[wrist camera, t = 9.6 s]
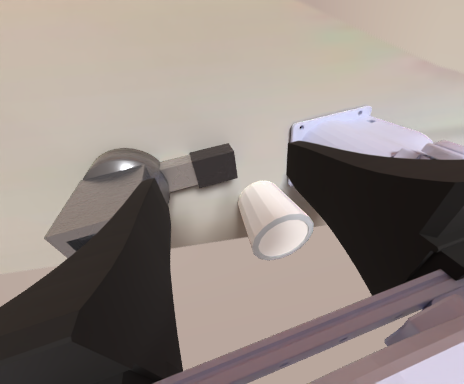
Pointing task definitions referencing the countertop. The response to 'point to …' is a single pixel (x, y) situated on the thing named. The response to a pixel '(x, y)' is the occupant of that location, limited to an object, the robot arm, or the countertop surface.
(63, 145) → the countertop surface
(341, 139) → the robot arm
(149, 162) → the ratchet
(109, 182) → the socket
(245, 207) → the shot glass
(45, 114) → the countertop surface
